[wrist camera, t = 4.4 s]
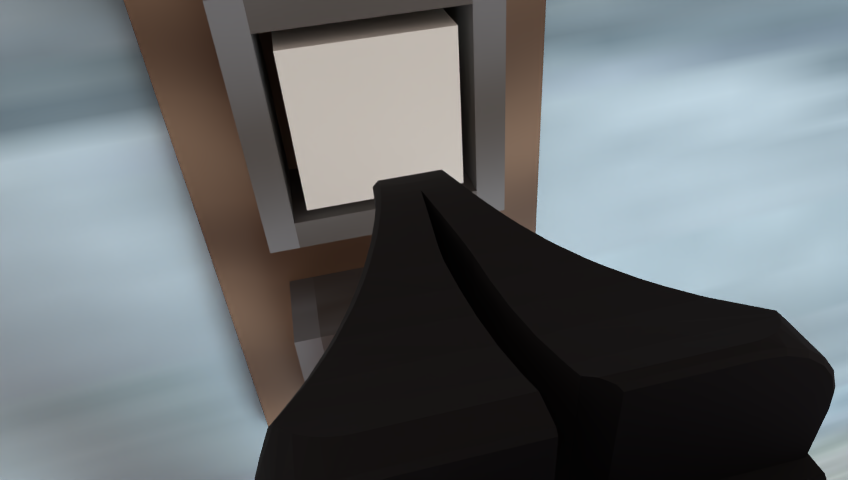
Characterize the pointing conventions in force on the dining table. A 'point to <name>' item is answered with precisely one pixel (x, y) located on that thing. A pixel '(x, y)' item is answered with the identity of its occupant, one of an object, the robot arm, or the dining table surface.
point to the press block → (277, 167)
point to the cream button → (371, 102)
